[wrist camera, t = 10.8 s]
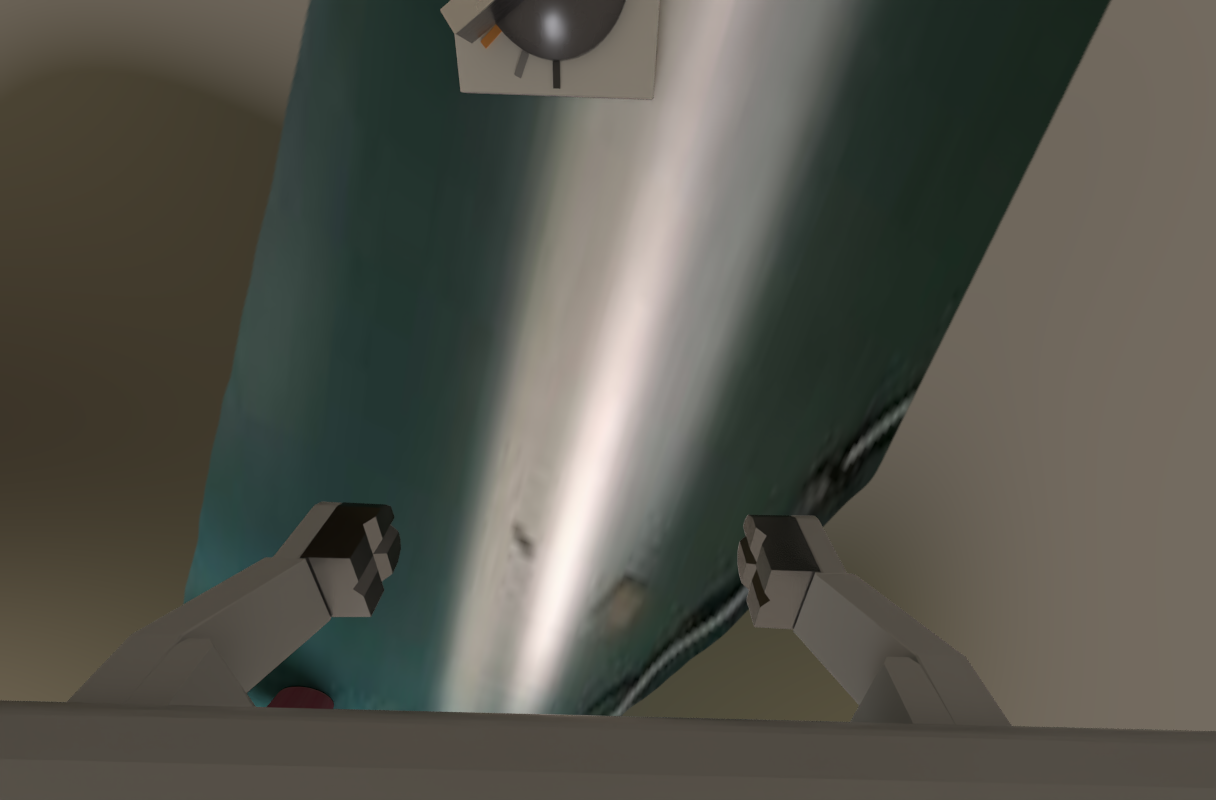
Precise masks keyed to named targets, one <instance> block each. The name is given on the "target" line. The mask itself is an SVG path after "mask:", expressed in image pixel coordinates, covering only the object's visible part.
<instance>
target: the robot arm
mask: <svg viewBox="0 0 1216 800" xmlns="http://www.w3.org/2000/svg"><path fill="white" fill-rule="evenodd" d="M393 519H394V514H393V511H392V508H391V506H388V505H384V504H365V503H346V502H343V503H336V502H320V503H318V504H316V505H314V507H313V508H312V509H311V510H310V511H309V513H308V514H307V515H306V517H305V518H304V519H303V520H302V522H301V523H300V524H299V525H298V527H297V528H296V529H295V530H294V532H293V533H292V534H291V535H290V537H289V538H288V539H287V540H286V542H285V543H284V544H283V545H282V547H281V548H280V549H279V550H278V552H277V553H276V554H275V555H274V557H273V558H264V559H262V560H260V561H259V562H257V563H255V564H253V565H252V566H250V567H248V568H246V569H245V570H243V571H241V572H239V573H238V574H236V575H234V576H232V577H231V578H229V579H227V580H225V581H224V582H222V583H220V584H218V585H217V586H215V587H213V588H211V589H210V590H208V591H206V592H204V593H203V594H201V595H199V596H197V597H196V598H194V599H192V600H190V601H189V602H187V603H185V604H184V605H182V606H180V607H178V608H177V609H175V610H173V611H171V612H170V613H168V614H166V615H164V616H163V617H161V618H159V619H157V620H156V621H154V622H152V623H151V624H149V625H147V626H145V627H143V628H142V629H140V630H138V631H136V632H135V633H133V634H131V635H130V636H129V637H128V638H127V639H126V640H125V641H124V643H123V644H122V645H121V646H120V647H119V648H118V649H117V650H116V651H115V652H114V653H113V654H112V655H111V656H110V657H109V658H108V659H107V660H106V661H105V662H104V663H103V664H102V666H101V667H100V668H99V669H98V670H97V671H96V672H95V673H94V674H93V675H92V676H91V677H90V678H89V679H88V680H87V681H86V682H85V683H84V684H83V685H82V687H80V689H79V690H78V691H77V692H76V693H75V694H74V695H73V696H72V697H71V698H70V699H69V700H68V701H67V702H40V701H39V702H38V701H2V700H1V701H0V800H1216V731H1186V730H1148V729H1145V730H1144V729H1108V728H1105V729H1104V728H1067V727H1025V726H1011V724H1010V723H1009V721H1008V720H1007V718H1006V717H1005V715H1004V714H1003V712H1002V711H1001V709H1000V708H999V706H998V705H997V703H996V702H995V700H994V699H993V697H992V696H991V694H990V693H989V691H988V690H987V688H986V687H985V685H984V684H983V682H982V681H981V679H980V678H979V676H978V675H977V673H976V672H975V670H974V669H973V667H972V666H971V664H970V663H969V661H968V660H967V658H966V657H965V656H964V655H962V654H961V653H960V652H958V651H957V650H955V649H954V648H953V647H952V646H950V645H949V644H947V643H946V642H945V641H943V640H942V639H941V638H939V637H938V636H937V635H935V634H934V633H933V632H931V631H930V630H929V629H927V628H926V627H924V626H923V625H922V624H921V623H919V622H918V621H917V620H915V619H914V618H913V617H911V616H910V615H909V614H907V613H906V612H905V611H903V610H902V609H901V608H899V607H898V606H897V605H895V604H894V603H892V602H891V601H890V600H888V599H887V598H886V597H885V596H883V595H882V594H881V593H879V592H878V591H877V590H875V589H874V588H873V587H871V586H870V585H868V584H867V583H866V582H865V581H863V580H862V579H861V578H859V577H858V576H857V575H855V574H848V573H847V572H846V570H845V568H844V566H843V564H842V562H841V561H840V559H839V557H838V555H837V553H836V552H835V549H834V548H833V546H832V544H831V542H830V540H829V538H828V536H827V535H826V533H825V531H824V529H823V527H822V525H821V523H820V521H819V520H818V518H816V517H815V516H800V515H792V516H789V515H748V516H747V517H746V519H745V522H744V526H743V528H744V531H745V534H746V536H745V537H744V538H743V539H742V540H741V541H740V543H739V548H738V570H739V575H740V579H741V582H742V584H743V585H744V586H746V587H747V588H748V589H749V592H748V596H747V604H748V607H749V610H750V614H751V617H752V621H753V624H754V627H762V628H780V629H794V630H793V632H794V633H795V634H796V635H797V636H798V637H799V638H800V639H801V641H802V642H804V644H805V645H806V646H807V647H808V648H809V649H810V651H811V652H812V653H813V654H814V655H815V656H816V657H817V659H818V660H819V661H820V662H821V663H822V664H823V665H824V666H825V668H826V669H827V670H828V671H829V672H830V673H831V674H832V675H833V676H834V678H835V679H836V680H837V681H838V682H839V683H840V684H841V685H842V687H843V688H844V689H845V690H846V691H847V692H848V693H849V694H850V696H851V697H852V698H853V699H854V700H855V701H856V702H857V703H858V704H859V707H858V709H857V711H856V712H855V714H854V716H853V718H852V720H851V722H829V721H789V720H748V719H710V718H670V717H668V718H667V717H630V716H590V715H550V714H509V713H469V712H429V711H389V710H350V709H311V708H272V707H255V705H254V704H253V702H252V701H251V699H250V698H249V696H248V695H247V692H248V691H249V690H251V689H252V688H253V687H254V686H255V685H256V684H257V683H259V682H260V681H261V680H262V679H263V678H264V677H265V676H267V675H268V674H269V673H270V672H271V671H272V670H273V669H275V668H276V667H277V666H278V665H279V664H280V663H281V662H283V661H284V660H285V659H286V658H287V657H288V656H290V655H291V654H292V653H293V652H294V651H295V650H296V649H298V648H299V647H300V646H301V645H302V644H303V643H304V642H306V641H307V640H308V639H309V638H310V637H311V636H312V635H314V634H315V633H316V632H317V631H318V630H319V629H320V628H322V627H323V626H324V625H325V624H326V623H327V622H328V621H330V620H331V617H371V616H372V614H373V612H374V610H375V608H376V606H377V604H378V602H379V600H380V598H381V596H382V594H383V592H384V588H383V585H382V581H383V580H384V579H386V578H387V577H388V576H390V575H391V574H392V573H393V571H394V569H395V567H396V565H397V563H398V559H399V555H400V550H401V544H400V536H399V532H398V531H397V530H396V529H395V528H394V527H392V526H391V525H390V524H391V523H392V521H393Z"/></svg>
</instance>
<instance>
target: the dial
mask: <svg viewBox="0 0 1216 800" xmlns="http://www.w3.org/2000/svg"><path fill="white" fill-rule="evenodd" d="M625 2H626V0H451V1H449V2H448V3H447V4H446V5H445V6H444V7H443V8H441V9H440V11H441V13H442V14H443V16H444V17H445V19H446V21H447V22H448V24H449V26H450V27H451V29H452V31H453V32H454V34H457V35H458V36H460V37H462V38H463V39H465V40H467V41H468V42H470V43H473V42H475V41H476V40H477V39H478V38H479V37H481V36H482V35H483V34H484V33H485V32H487V31H488V30H489V29H490V28H491V27H493V26H494V25H495V24H496V25H497V26H498V27H499V28H500V29H501V31H502V32H503V33H504V34H505V35H506V36H507V37H508V38H509V39H510V40H511V41H512V42H513V43H514V44H516V45H517V46H518V47H520V48H521V49H522V50H524V51H526V52H527V53H529V54H531V55H533V56H536V57H538V58H541V59H546V60H550V61H565V60H571V59H575V58H578V57H580V56H583V55H585V54H587V53H588V52H590V51H591V50H593V49H595V48H596V47H597V46H598V45H599V44H600V43H601V42H603V40H604V39H605V38H606V37H607V36H608V35H609V34H610V32H611V31H612V29H613V28H614V26H615V25H616V23H617V21H618V19H619V17H620V15H621V13H622V10H623V8H624V5H625Z"/></svg>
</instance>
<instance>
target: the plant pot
mask: <svg viewBox="0 0 1216 800" xmlns="http://www.w3.org/2000/svg"><path fill="white" fill-rule="evenodd" d="M267 707H272V708H311V709H333V707H334V704H333V701H332V700H331V698H330V697H329V696H327V695H326V694H324V693H322V692H320V691H318V690H315V689H312V688H307V687H289V688H285V689H283V690H281V691H280V692H279V693H278V694H277V695H276V696H275V698H274V699H273V700H272V701H271V703H270V704H269V705H268V706H267Z"/></svg>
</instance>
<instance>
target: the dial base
mask: <svg viewBox="0 0 1216 800" xmlns="http://www.w3.org/2000/svg"><path fill="white" fill-rule="evenodd" d="M659 4H660V0H626V2H625V5H624V8H623V10H622V13H621V15H620V17H619V19H618V21H617V23H616V25H615V26H614V28H613V29H612V31H611V32H610V34H609V35H608V36H607V37H606V38H605V39H604V40H603V42H601V43H600V44H599V45H598V46H597V47H596V48H595V49H593V50H591V51H590V52H588V53H587V54H585V55H583V56H580V57H578V58H575V59H571V60H565V61H550V60H546V59H541V58H538V57H536V56H533V55H531V54H529V53H527V52H526V51H524V50H522V49H521V48H520V47H518V46H517V45H516V44H514V43H513V42H512V41H511V40H510V39H509V38H508V37H507V36H506V35H505V34H504V33H503V32H502V31H501V29H500V28H499V27H498V26H497V25H496V24H495V25H494V26H493V27H491V28H490V29H489V30H488V31H487V32H485V33H484V34H483V35H482V36H481V37H479V38H478V39H477V40H476V41H475V42H473V43H470V42H468V41H467V40H465V39H463V38H462V37H460V36H458V35H457V34H455V44H456V53H457V62H458V72H459V81H460V90H461V92H464V93H479V94H507V95H535V96H563V97H590V98H618V99H646V100H652V99H653V94H654V79H655V64H656V49H657V34H658V19H659Z"/></svg>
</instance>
